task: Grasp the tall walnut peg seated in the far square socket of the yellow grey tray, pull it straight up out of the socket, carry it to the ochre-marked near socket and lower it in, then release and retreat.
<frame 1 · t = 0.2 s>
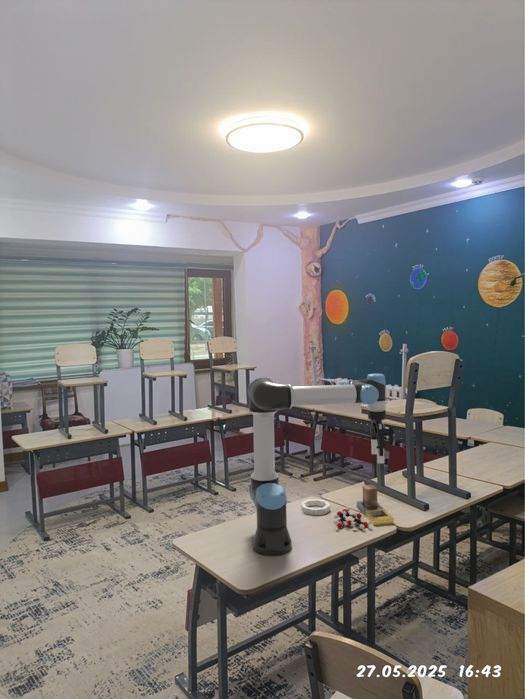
hand: (377, 458, 211), 27 cm above the table, fingers open, 13 cm apart
walnut peg: (370, 510, 224), resting in yellow grey tray
molecular model: (351, 525, 210), on the table
yellow grey tray: (374, 514, 219), on the table
white ring: (315, 509, 227), on the table
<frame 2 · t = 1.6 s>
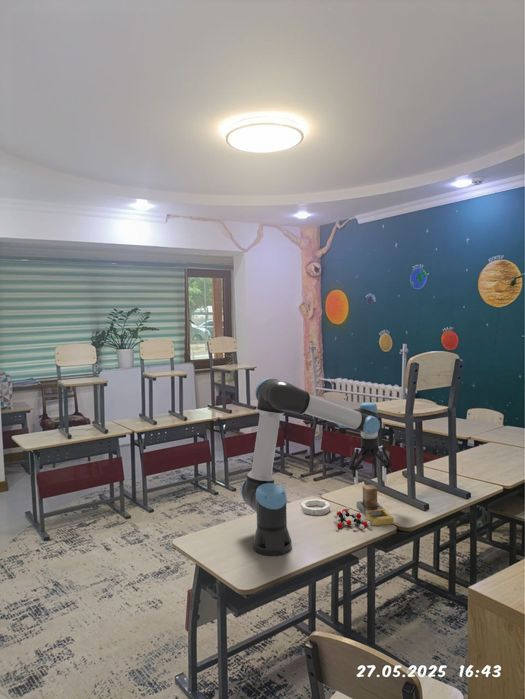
hand: (370, 482, 224), 13 cm above the table, fingers open, 13 cm apart
nothing on the table moved.
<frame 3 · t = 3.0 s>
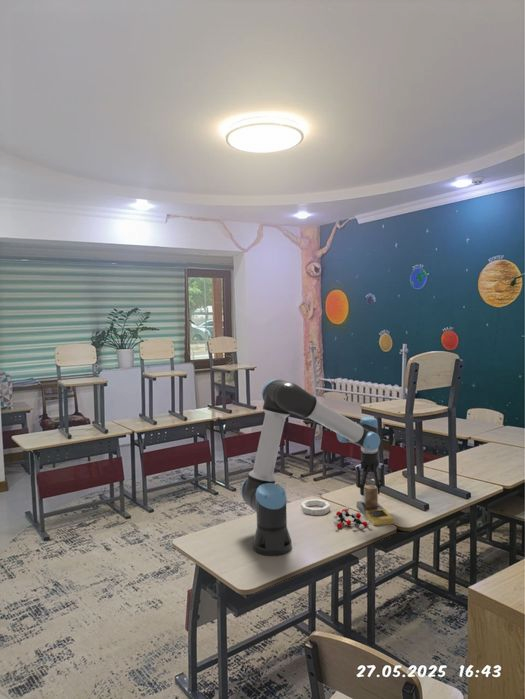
hand: (370, 501, 224), 4 cm above the table, fingers closed on walnut peg, 5 cm apart
walnut peg: (370, 510, 224), resting in yellow grey tray, touching gripper
everything else where it was.
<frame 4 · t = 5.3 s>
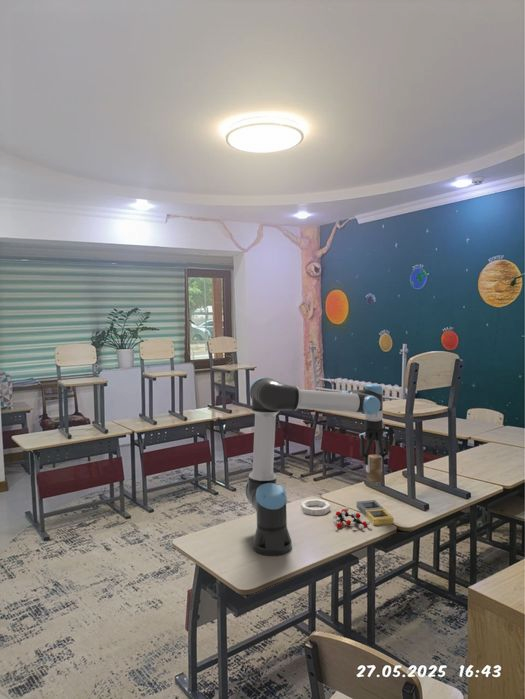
hand: (374, 471, 217), 20 cm above the table, fingers closed on walnut peg, 5 cm apart
walnut peg: (374, 480, 217), point 16 cm above the table, touching gripper
everything else where it was.
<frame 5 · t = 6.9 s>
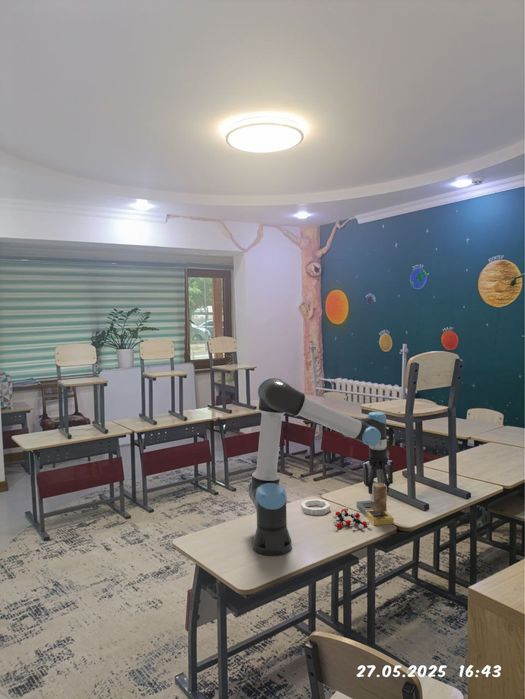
hand: (378, 500, 214), 9 cm above the table, fingers closed on walnut peg, 5 cm apart
walnut peg: (378, 509, 214), point 4 cm above the table, touching gripper
everything else where it was.
when the fingers open (5 cm above the table, at t = 7.9 s): walnut peg stays where it is, resting in yellow grey tray.
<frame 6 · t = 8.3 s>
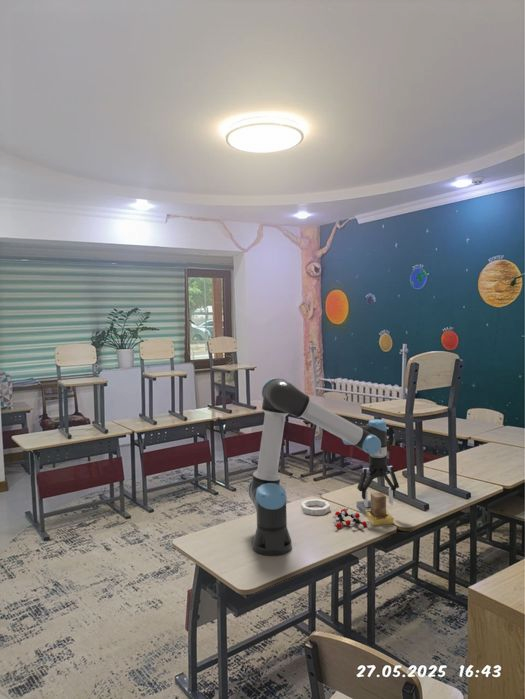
hand: (378, 504, 214), 6 cm above the table, fingers open, 11 cm apart
walnut peg: (378, 519, 214), resting in yellow grey tray
everything else where it was.
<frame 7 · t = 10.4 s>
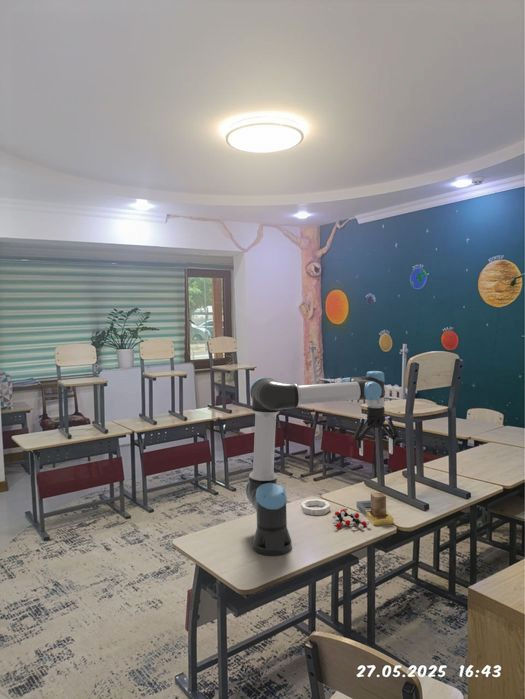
hand: (376, 454, 216), 28 cm above the table, fingers open, 13 cm apart
nothing on the table moved.
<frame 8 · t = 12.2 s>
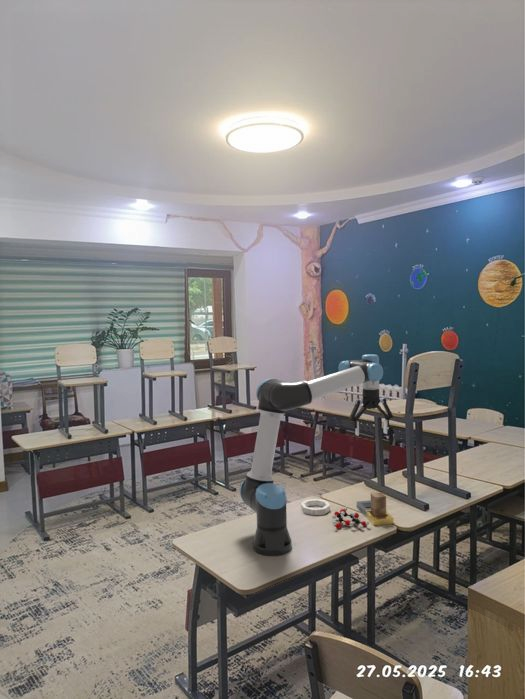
hand: (371, 434, 225), 35 cm above the table, fingers open, 13 cm apart
nothing on the table moved.
at the end: walnut peg 0.0 cm from the target spot on the yellow grey tray, point 0.0 cm above the yellow grey tray's base; walnut peg tilted 0°; the gripper is holding nothing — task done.
